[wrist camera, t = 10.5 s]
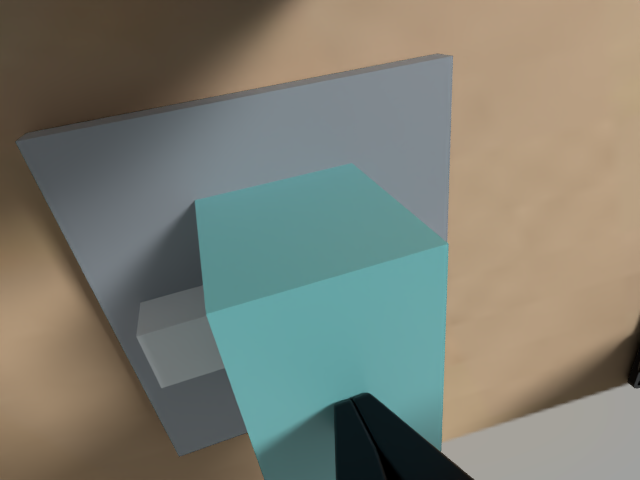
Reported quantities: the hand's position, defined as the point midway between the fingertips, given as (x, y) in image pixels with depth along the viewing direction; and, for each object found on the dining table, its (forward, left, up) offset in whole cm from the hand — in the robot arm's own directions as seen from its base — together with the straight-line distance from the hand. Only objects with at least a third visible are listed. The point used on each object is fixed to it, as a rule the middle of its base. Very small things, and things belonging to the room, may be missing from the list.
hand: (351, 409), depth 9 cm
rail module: (0, 0, -5) cm, 5 cm away
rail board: (0, 0, -6) cm, 6 cm away
